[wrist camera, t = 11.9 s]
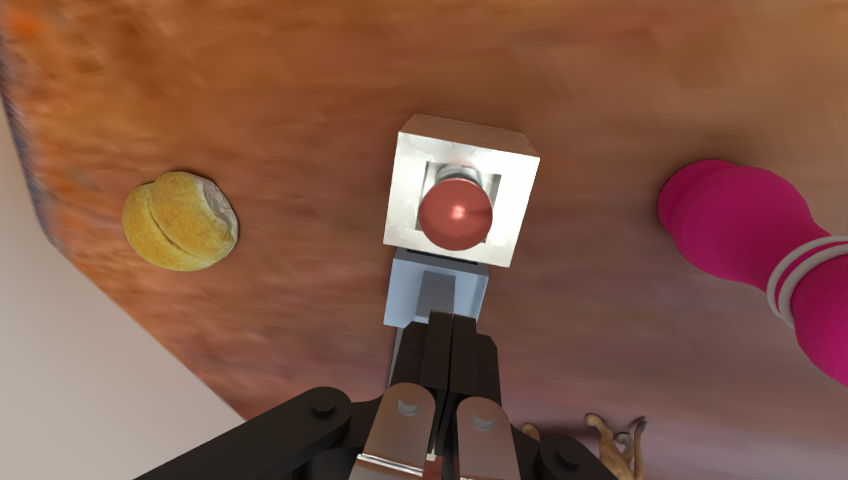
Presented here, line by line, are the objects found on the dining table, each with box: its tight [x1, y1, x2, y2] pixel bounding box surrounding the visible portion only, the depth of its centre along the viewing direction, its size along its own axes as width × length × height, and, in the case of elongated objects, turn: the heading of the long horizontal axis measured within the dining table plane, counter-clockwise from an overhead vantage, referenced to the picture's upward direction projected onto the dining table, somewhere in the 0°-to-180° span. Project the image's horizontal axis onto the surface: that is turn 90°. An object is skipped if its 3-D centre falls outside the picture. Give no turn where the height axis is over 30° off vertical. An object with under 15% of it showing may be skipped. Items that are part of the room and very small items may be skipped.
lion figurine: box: [522, 414, 648, 480], centre depth 39 cm, size 15×5×9 cm, turn 114°
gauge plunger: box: [419, 165, 493, 251], centre depth 26 cm, size 4×4×6 cm
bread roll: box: [122, 171, 238, 271], centre depth 36 cm, size 8×9×4 cm
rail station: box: [383, 112, 540, 461], centre depth 34 cm, size 8×30×8 cm, turn 171°
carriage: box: [384, 246, 489, 328], centre depth 32 cm, size 7×6×9 cm
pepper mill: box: [657, 160, 848, 387], centre depth 23 cm, size 7×7×20 cm
